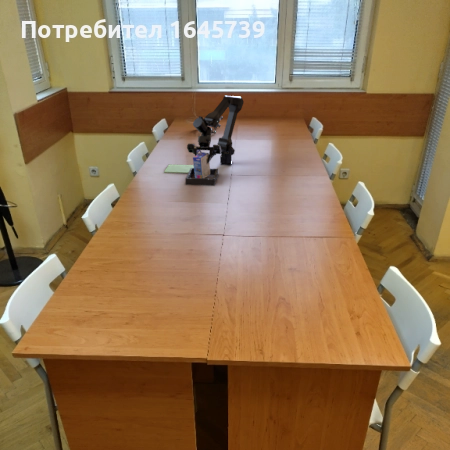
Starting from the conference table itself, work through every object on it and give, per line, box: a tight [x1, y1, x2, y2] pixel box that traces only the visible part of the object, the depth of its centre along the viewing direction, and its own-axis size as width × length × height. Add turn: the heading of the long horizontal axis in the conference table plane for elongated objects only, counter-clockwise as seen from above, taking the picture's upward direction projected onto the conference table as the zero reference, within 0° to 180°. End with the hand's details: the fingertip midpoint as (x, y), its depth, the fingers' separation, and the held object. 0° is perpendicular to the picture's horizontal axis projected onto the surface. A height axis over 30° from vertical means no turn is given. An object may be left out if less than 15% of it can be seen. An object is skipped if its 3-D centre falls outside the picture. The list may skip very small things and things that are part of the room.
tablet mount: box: [212, 115, 224, 135], centre depth 346 cm, size 27×14×17 cm
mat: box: [163, 164, 194, 174], centre depth 270 cm, size 20×14×1 cm
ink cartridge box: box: [192, 150, 211, 178], centre depth 250 cm, size 10×6×14 cm, turn 155°
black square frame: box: [185, 168, 219, 186], centre depth 254 cm, size 16×18×4 cm
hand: (202, 162), depth 251 cm, fingers closed on ink cartridge box, 6 cm apart
